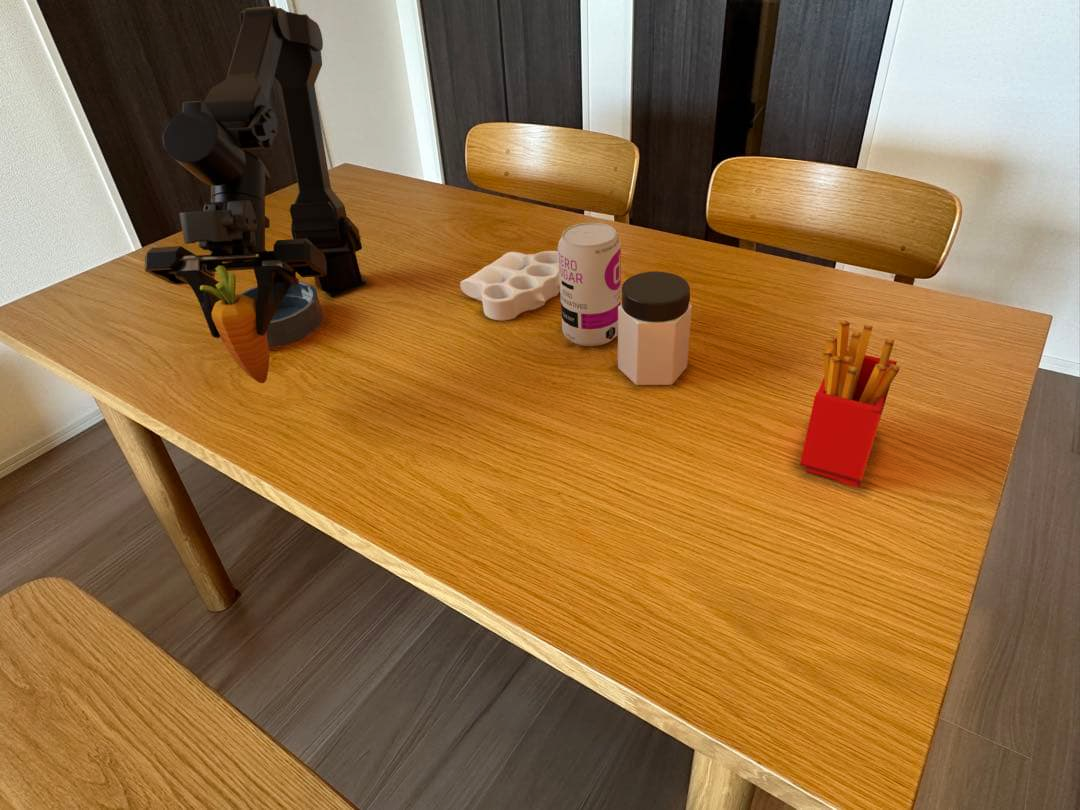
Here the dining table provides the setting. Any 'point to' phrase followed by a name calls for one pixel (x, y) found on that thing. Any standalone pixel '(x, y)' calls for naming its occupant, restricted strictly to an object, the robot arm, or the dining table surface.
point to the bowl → (293, 314)
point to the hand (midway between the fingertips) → (238, 336)
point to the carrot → (239, 326)
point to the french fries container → (847, 407)
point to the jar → (654, 328)
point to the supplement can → (590, 283)
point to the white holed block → (515, 284)
